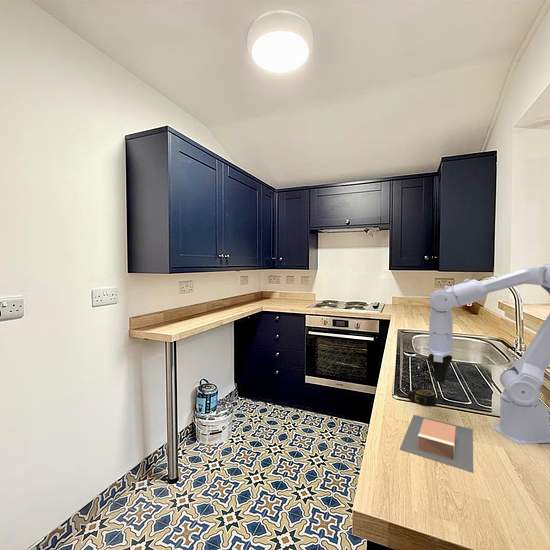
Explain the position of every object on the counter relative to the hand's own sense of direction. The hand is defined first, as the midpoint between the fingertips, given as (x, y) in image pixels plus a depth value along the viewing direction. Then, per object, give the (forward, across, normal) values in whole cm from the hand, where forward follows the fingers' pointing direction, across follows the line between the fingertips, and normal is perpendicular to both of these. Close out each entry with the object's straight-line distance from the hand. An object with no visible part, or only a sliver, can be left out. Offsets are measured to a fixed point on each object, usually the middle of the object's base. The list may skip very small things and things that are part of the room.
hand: (440, 381), depth 83 cm
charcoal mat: (+10, +12, +1) cm, 16 cm away
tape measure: (+11, -9, -6) cm, 15 cm away
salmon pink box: (+8, +10, +1) cm, 13 cm away
